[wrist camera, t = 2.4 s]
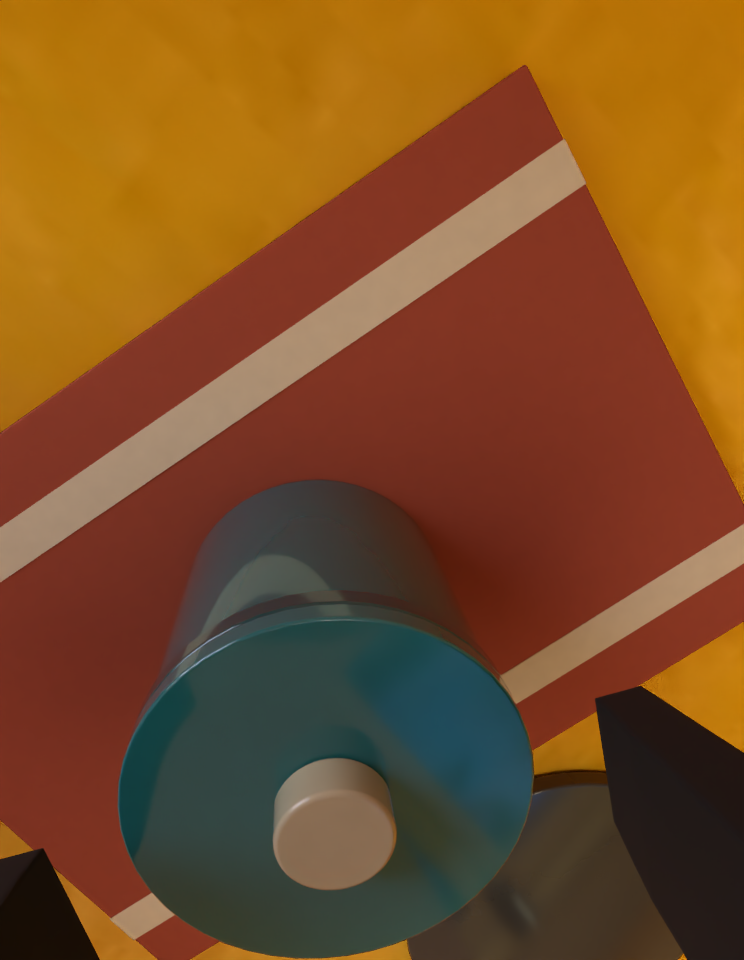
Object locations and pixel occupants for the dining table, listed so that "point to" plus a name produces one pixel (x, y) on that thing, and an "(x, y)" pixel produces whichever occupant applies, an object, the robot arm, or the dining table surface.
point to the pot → (322, 735)
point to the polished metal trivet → (558, 890)
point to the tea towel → (367, 465)
